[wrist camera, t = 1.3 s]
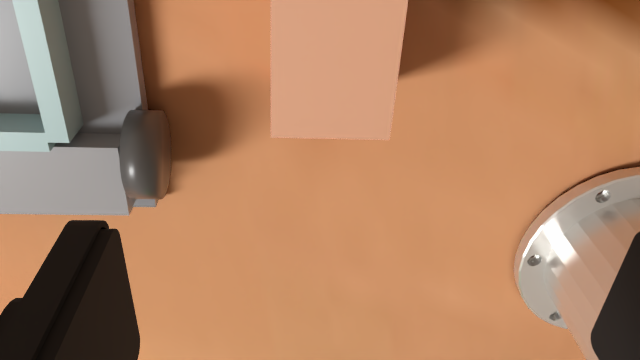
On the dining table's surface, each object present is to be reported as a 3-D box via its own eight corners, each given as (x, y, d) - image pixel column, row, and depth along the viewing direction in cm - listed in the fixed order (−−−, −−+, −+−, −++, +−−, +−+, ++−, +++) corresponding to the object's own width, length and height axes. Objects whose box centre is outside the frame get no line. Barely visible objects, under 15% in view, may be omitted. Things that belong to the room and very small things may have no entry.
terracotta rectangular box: (386, -61, 24) (413, -37, 19) (371, 86, 27) (389, 140, 22) (275, -67, 23) (270, -43, 18) (274, 83, 27) (270, 137, 22)
